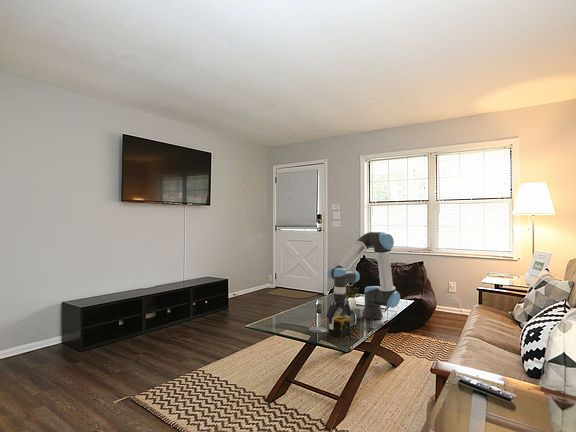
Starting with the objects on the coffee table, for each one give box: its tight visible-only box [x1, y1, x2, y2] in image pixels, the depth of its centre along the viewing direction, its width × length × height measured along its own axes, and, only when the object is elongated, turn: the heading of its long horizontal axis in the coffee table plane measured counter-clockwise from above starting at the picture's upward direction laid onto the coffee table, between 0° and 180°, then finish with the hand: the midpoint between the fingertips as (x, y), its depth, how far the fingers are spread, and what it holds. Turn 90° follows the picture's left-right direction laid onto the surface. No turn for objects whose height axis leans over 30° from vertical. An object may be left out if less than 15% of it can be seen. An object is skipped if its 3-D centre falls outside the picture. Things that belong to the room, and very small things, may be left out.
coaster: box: [308, 326, 328, 334], centre depth 220 cm, size 12×12×1 cm
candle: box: [327, 315, 352, 338], centre depth 213 cm, size 10×10×10 cm
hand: (339, 327), depth 213 cm, fingers open, 13 cm apart
